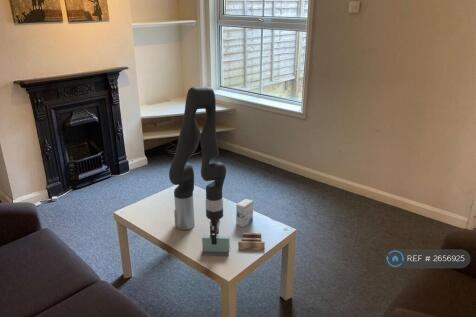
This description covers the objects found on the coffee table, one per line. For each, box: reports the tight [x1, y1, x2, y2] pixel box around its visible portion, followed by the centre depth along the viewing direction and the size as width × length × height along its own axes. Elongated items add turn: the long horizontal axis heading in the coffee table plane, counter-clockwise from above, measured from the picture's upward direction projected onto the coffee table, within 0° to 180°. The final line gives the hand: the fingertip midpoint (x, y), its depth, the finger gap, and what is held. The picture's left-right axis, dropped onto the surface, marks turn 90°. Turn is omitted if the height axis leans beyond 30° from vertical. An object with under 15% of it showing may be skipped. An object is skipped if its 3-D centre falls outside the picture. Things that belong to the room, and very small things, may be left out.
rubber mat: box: [201, 250, 230, 257], centre depth 173 cm, size 12×8×1 cm, turn 87°
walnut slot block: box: [241, 232, 262, 242], centre depth 180 cm, size 9×6×2 cm, turn 87°
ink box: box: [235, 198, 254, 228], centre depth 195 cm, size 9×5×12 cm, turn 143°
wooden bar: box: [237, 240, 266, 251], centre depth 174 cm, size 12×2×4 cm, turn 87°
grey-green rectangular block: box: [201, 234, 231, 253], centre depth 172 cm, size 7×2×12 cm
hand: (215, 238), depth 171 cm, fingers open, 8 cm apart
